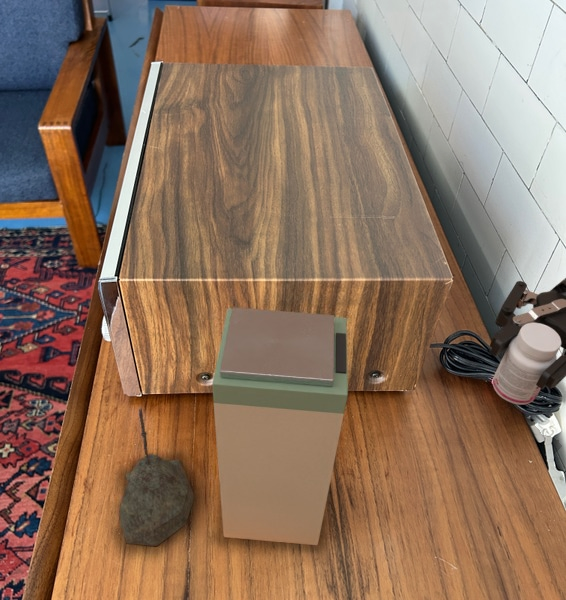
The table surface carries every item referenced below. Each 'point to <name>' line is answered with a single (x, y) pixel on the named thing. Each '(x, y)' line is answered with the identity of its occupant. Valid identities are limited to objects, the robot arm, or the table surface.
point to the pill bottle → (526, 363)
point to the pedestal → (275, 471)
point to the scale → (282, 361)
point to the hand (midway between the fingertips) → (518, 365)
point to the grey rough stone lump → (154, 499)
